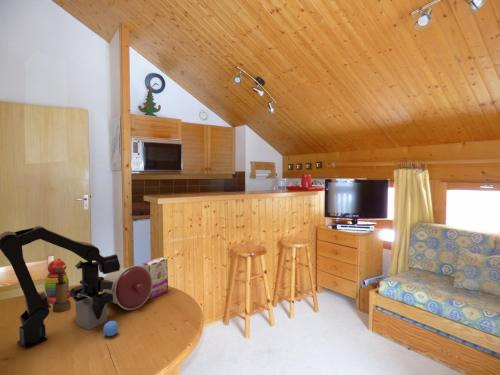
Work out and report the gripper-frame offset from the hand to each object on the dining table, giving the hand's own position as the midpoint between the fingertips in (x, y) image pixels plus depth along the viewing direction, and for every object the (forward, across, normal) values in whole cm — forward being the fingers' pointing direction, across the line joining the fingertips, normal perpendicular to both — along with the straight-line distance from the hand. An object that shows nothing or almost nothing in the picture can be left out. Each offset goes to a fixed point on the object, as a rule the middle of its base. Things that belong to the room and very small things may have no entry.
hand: (91, 316), depth 118 cm
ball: (0, -14, +2) cm, 14 cm away
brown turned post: (+3, +22, -1) cm, 22 cm away
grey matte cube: (+2, 0, 0) cm, 2 cm away
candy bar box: (+3, -2, -31) cm, 31 cm away
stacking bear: (+3, +34, -6) cm, 35 cm away
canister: (-4, +12, -19) cm, 22 cm away
